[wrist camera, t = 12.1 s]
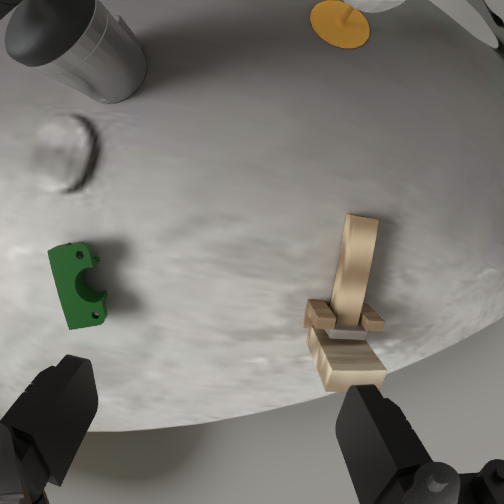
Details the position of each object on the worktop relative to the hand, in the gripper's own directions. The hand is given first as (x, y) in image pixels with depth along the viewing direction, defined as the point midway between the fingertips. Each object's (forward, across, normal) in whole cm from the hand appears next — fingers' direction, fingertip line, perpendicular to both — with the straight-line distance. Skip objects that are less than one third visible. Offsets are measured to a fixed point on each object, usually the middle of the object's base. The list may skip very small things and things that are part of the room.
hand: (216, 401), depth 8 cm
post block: (+32, -16, +12) cm, 37 cm away
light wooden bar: (+31, -16, +4) cm, 35 cm away
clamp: (+32, +20, +9) cm, 39 cm away
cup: (+33, -12, -31) cm, 47 cm away
